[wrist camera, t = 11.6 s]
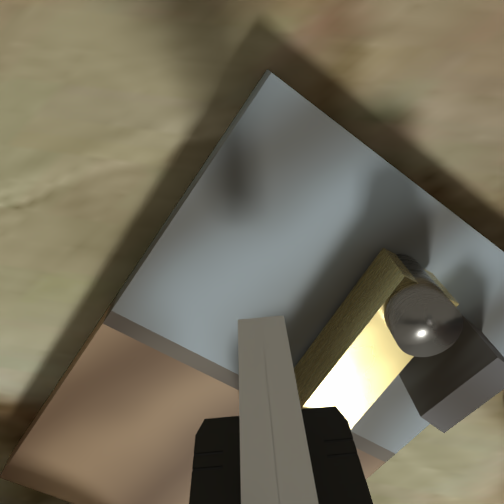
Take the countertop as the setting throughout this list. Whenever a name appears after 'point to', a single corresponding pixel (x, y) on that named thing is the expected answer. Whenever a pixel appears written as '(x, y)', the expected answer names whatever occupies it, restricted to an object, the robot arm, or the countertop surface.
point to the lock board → (260, 308)
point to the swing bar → (377, 335)
